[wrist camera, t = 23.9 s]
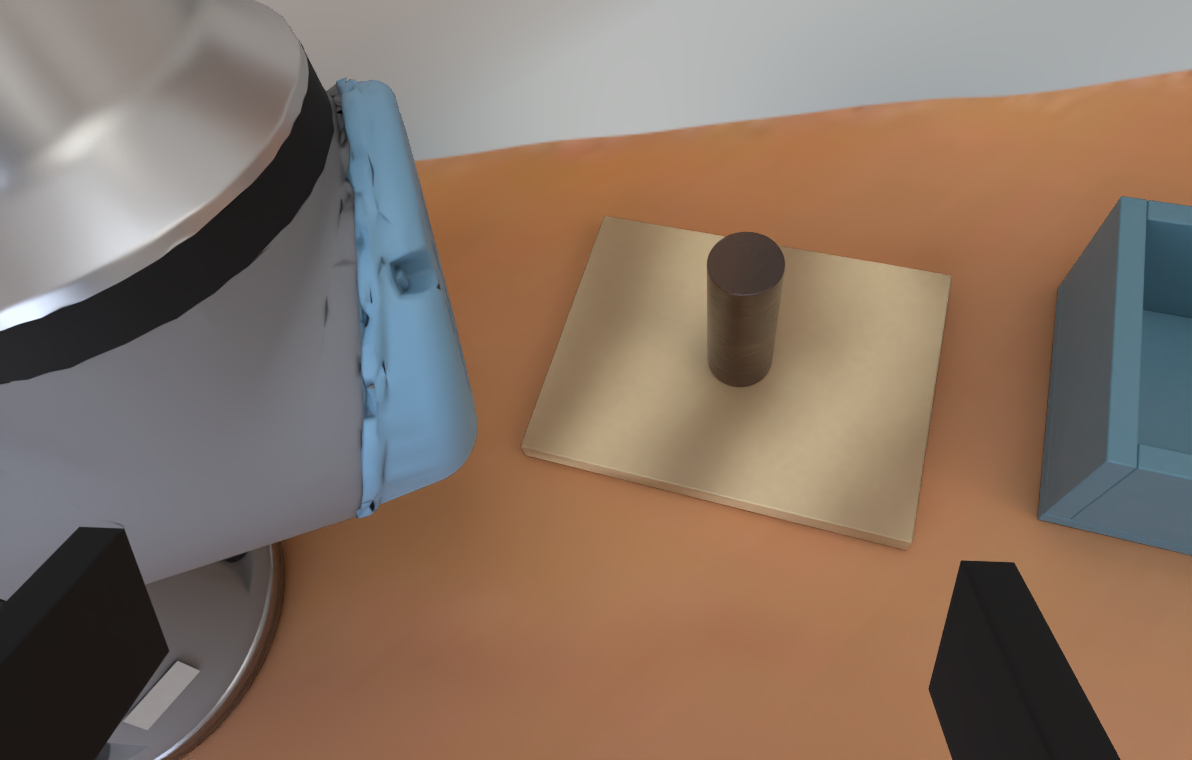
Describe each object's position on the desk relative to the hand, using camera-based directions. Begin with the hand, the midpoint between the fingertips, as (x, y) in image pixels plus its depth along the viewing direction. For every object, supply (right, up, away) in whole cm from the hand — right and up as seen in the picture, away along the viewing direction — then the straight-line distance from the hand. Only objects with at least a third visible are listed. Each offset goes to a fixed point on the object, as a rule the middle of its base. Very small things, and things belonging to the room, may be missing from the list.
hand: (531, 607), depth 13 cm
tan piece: (+8, +4, +27) cm, 28 cm away
